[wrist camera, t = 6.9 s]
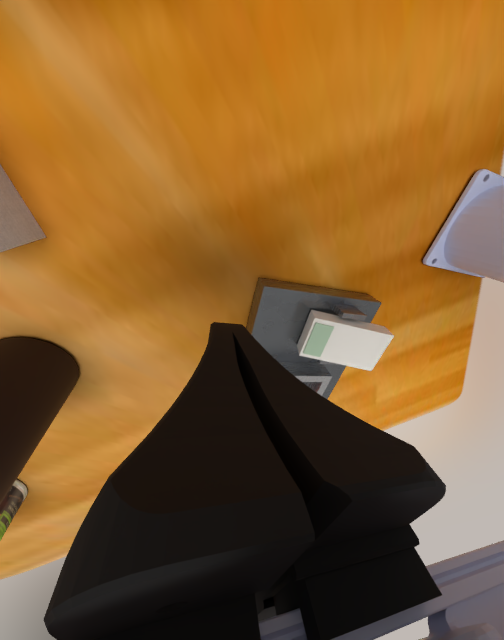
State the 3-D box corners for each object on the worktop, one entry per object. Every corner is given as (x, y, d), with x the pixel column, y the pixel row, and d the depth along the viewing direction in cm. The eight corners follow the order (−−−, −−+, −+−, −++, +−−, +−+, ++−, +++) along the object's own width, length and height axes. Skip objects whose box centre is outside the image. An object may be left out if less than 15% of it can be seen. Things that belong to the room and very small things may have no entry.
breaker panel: (368, 294, 22) (397, 312, 19) (313, 399, 30) (327, 426, 27) (258, 277, 19) (271, 296, 16) (228, 401, 26) (232, 432, 23)
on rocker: (384, 326, 20) (395, 336, 18) (364, 360, 22) (372, 372, 20) (311, 309, 19) (315, 318, 18) (296, 345, 21) (299, 356, 20)
